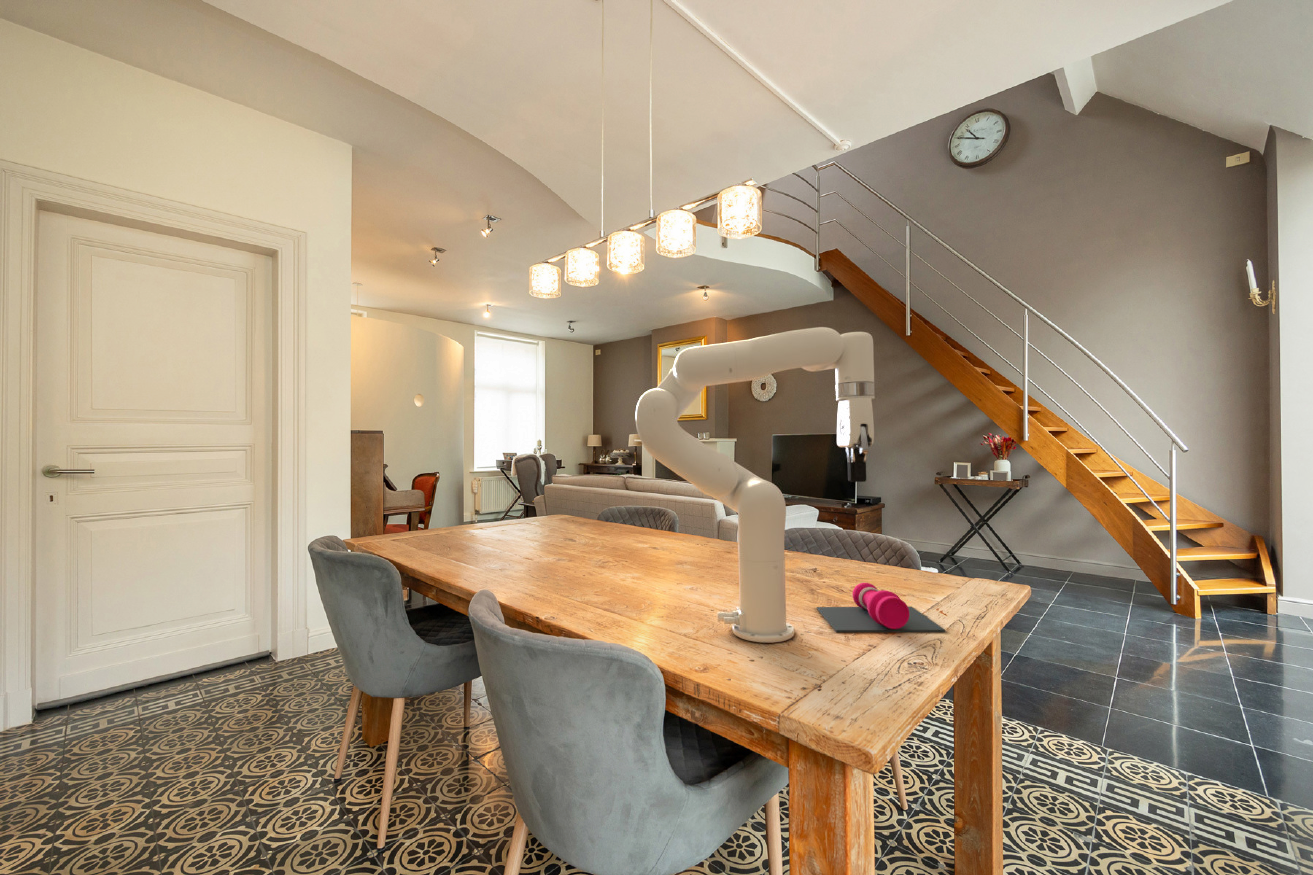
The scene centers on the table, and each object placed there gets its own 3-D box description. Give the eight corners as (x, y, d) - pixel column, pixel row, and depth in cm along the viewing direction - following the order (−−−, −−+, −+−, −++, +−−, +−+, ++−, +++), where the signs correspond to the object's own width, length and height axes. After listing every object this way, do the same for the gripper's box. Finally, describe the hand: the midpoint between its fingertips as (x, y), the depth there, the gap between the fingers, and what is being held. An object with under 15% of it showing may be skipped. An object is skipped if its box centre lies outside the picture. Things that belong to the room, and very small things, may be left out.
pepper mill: (871, 601, 109) (840, 581, 129) (882, 635, 108) (850, 610, 128) (905, 590, 109) (869, 572, 129) (917, 625, 108) (879, 602, 128)
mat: (836, 632, 110) (836, 630, 110) (816, 608, 126) (816, 606, 126) (945, 632, 109) (945, 629, 109) (911, 608, 125) (911, 606, 125)
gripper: (826, 396, 119) (828, 479, 118) (847, 389, 104) (850, 484, 103) (861, 396, 118) (863, 479, 118) (887, 388, 103) (889, 483, 103)
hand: (857, 481), depth 111 cm, fingers closed
